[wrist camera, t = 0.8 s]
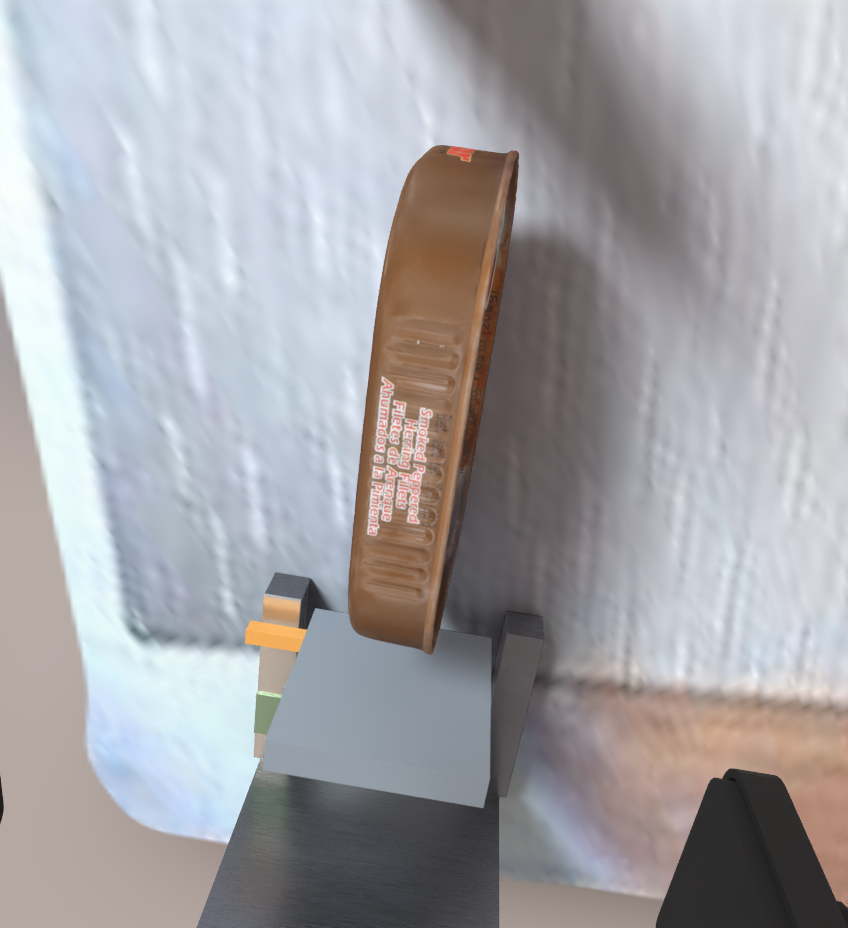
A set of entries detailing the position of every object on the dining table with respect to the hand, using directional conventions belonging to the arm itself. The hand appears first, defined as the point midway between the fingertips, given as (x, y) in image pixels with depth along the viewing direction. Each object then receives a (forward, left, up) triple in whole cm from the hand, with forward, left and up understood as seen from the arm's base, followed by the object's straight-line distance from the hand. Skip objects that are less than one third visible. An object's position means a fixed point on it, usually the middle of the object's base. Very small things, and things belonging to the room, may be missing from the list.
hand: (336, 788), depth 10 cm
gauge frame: (0, +14, -18) cm, 23 cm away
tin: (0, 0, -19) cm, 19 cm away
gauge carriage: (+1, +10, -17) cm, 20 cm away
